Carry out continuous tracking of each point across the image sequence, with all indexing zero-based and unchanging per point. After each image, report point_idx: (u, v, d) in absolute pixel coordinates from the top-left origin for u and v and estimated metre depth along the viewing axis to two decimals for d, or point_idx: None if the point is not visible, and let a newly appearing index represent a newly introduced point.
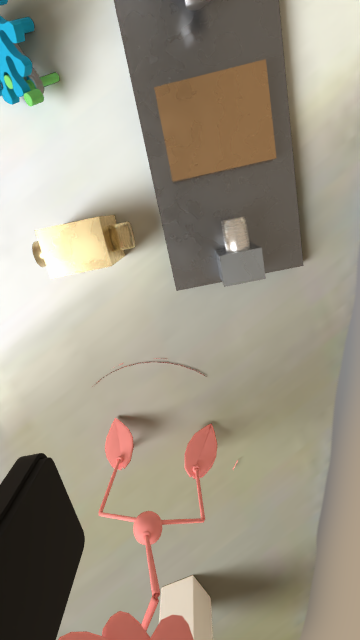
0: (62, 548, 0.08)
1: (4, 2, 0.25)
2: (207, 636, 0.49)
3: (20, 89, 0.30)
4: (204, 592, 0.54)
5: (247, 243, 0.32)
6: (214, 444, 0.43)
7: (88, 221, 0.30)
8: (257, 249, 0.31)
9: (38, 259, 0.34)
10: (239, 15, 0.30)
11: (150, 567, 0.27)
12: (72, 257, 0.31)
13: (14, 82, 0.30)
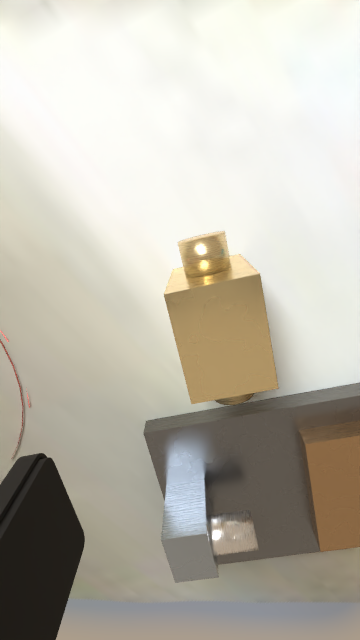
0: (62, 548, 0.08)
1: None
2: None
3: None
4: None
5: None
6: None
7: (270, 372, 0.17)
8: (215, 573, 0.23)
9: (194, 246, 0.17)
10: None
11: None
12: (206, 339, 0.16)
13: None
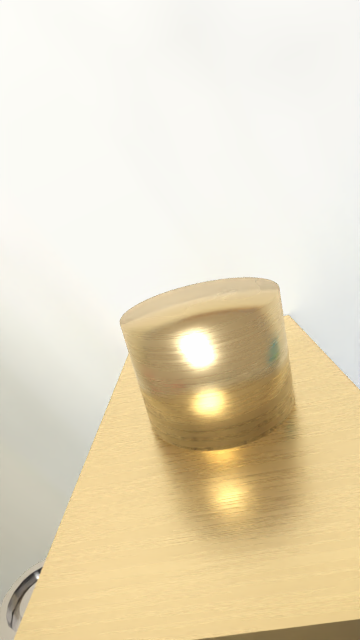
0: None
1: None
2: None
3: None
4: None
5: None
6: None
7: None
8: None
9: (173, 353, 0.04)
10: None
11: None
12: None
13: None
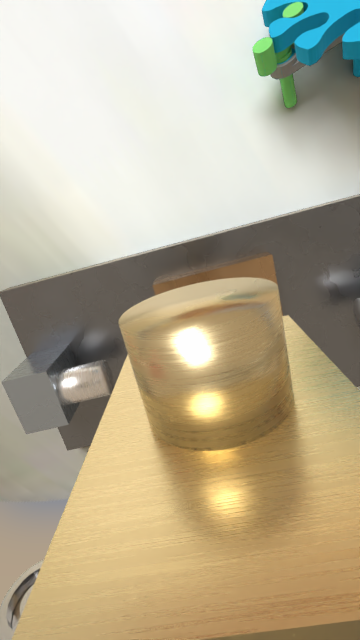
0: None
1: None
2: None
3: (279, 33, 0.17)
4: None
5: (73, 402, 0.22)
6: None
7: None
8: (64, 419, 0.22)
9: (172, 353, 0.04)
10: (341, 349, 0.25)
11: None
12: None
13: (290, 22, 0.17)
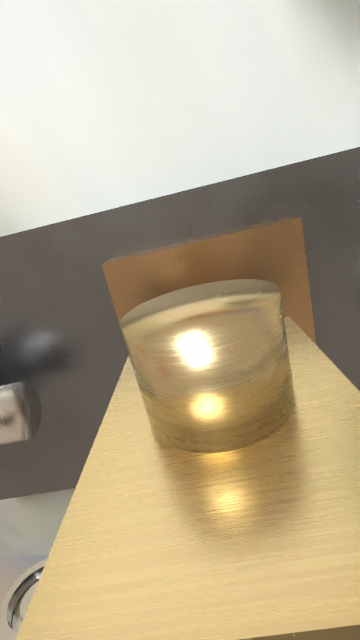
0: None
1: None
2: None
3: None
4: None
5: None
6: None
7: None
8: None
9: (173, 355, 0.04)
10: None
11: None
12: None
13: None
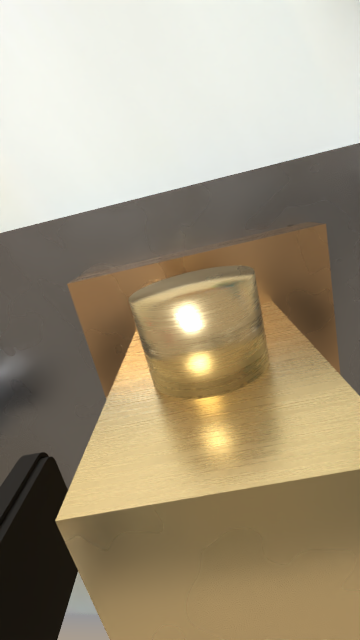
0: (64, 547, 0.08)
1: None
2: None
3: None
4: None
5: None
6: None
7: None
8: None
9: (171, 320, 0.06)
10: None
11: None
12: (212, 636, 0.05)
13: None
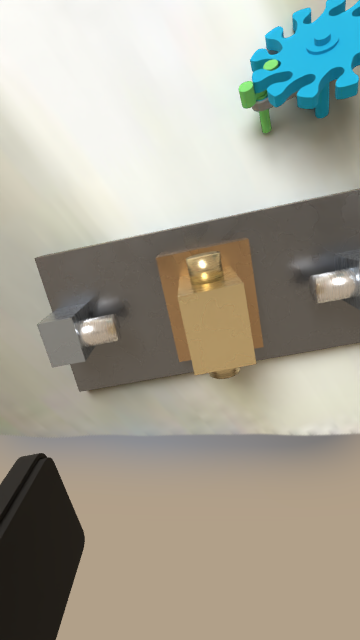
0: (62, 548, 0.08)
1: (336, 94, 0.22)
2: None
3: (258, 79, 0.24)
4: None
5: (89, 345, 0.29)
6: None
7: (250, 352, 0.24)
8: (82, 357, 0.29)
9: (198, 262, 0.24)
10: (301, 319, 0.32)
11: None
12: (206, 328, 0.23)
13: (267, 73, 0.24)
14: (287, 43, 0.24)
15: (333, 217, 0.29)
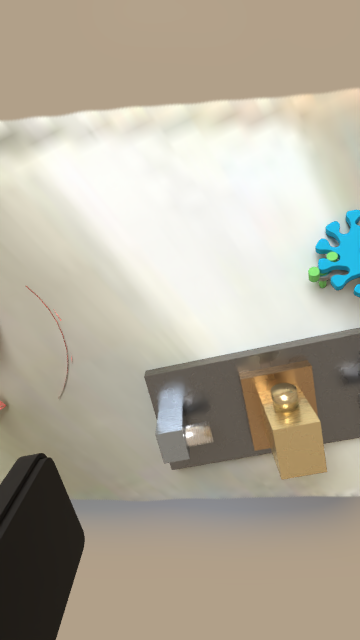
0: (62, 548, 0.08)
1: None
2: None
3: (323, 268, 0.33)
4: None
5: (192, 446, 0.38)
6: None
7: (323, 464, 0.33)
8: (188, 456, 0.38)
9: (283, 399, 0.33)
10: (349, 415, 0.41)
11: None
12: (292, 449, 0.33)
13: (330, 263, 0.33)
14: (344, 239, 0.34)
15: None
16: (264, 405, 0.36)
